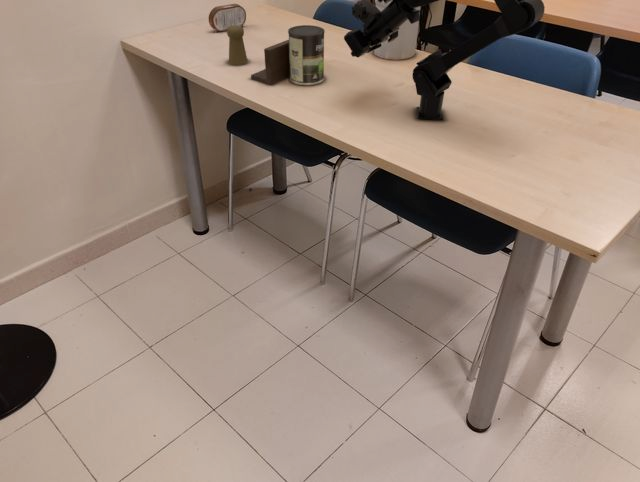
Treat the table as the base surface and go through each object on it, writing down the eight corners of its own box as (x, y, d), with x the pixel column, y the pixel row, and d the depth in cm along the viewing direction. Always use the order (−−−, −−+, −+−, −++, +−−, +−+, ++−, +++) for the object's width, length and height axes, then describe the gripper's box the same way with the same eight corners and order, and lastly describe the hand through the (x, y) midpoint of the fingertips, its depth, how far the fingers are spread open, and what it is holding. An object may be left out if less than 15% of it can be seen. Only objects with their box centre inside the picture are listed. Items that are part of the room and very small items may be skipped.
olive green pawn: (224, 63, 160) (220, 27, 153) (236, 57, 164) (232, 22, 157) (240, 66, 158) (237, 30, 151) (251, 60, 162) (248, 25, 155)
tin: (243, 24, 194) (241, 1, 188) (248, 26, 192) (246, 3, 186) (209, 32, 186) (206, 7, 181) (213, 34, 184) (210, 9, 179)
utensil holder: (368, 58, 164) (371, 0, 154) (375, 44, 176) (379, -10, 165) (413, 62, 162) (420, 4, 151) (417, 48, 173) (424, -8, 162)
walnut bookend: (313, 66, 159) (313, 33, 152) (271, 85, 146) (269, 50, 140) (293, 60, 162) (292, 28, 156) (251, 78, 150) (248, 44, 143)
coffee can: (327, 74, 153) (328, 26, 144) (318, 87, 145) (319, 36, 136) (295, 71, 155) (294, 23, 146) (284, 83, 147) (283, 33, 138)
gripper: (392, -17, 129) (354, 21, 141) (351, -3, 117) (314, 37, 129) (416, 20, 130) (376, 55, 142) (378, 38, 118) (338, 74, 130)
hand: (352, 54), depth 136 cm, fingers closed
